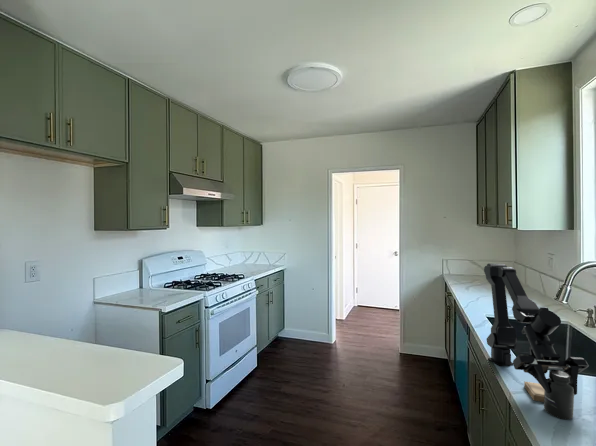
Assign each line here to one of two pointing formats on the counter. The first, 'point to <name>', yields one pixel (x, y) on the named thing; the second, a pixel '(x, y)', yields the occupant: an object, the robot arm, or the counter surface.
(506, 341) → the robot arm
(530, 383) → the square wooden coaster
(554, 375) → the supplement bottle
